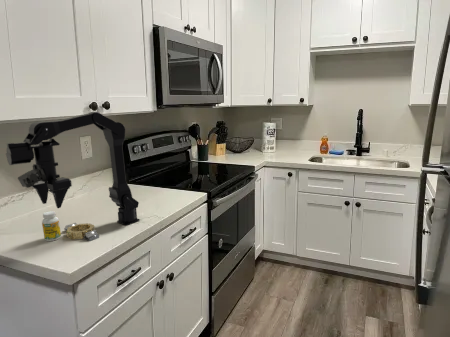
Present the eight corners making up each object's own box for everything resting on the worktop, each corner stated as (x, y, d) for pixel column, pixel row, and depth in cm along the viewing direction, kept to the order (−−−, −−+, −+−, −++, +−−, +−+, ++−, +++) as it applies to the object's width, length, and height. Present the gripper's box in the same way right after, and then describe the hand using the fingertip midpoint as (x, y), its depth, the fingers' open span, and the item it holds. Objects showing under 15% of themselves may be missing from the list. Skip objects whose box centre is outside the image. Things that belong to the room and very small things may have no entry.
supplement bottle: (61, 234, 128) (58, 209, 126) (61, 239, 123) (57, 213, 121) (45, 237, 125) (41, 211, 124) (43, 242, 121) (40, 216, 119)
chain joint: (79, 225, 136) (79, 219, 135) (105, 235, 126) (104, 228, 125) (57, 233, 129) (56, 226, 128) (82, 243, 119) (82, 237, 118)
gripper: (5, 162, 113) (13, 207, 116) (34, 167, 102) (41, 217, 106) (40, 156, 122) (46, 199, 125) (69, 161, 111) (75, 207, 114)
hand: (51, 205), depth 117 cm, fingers open, 9 cm apart
